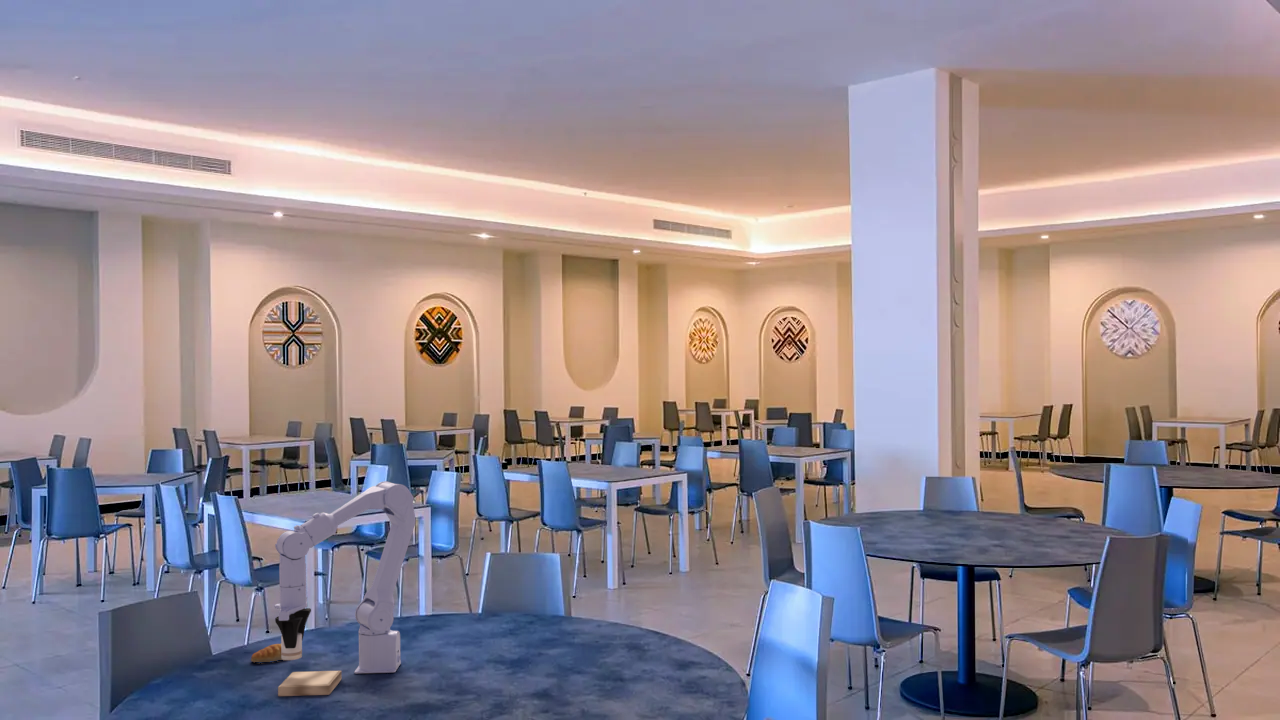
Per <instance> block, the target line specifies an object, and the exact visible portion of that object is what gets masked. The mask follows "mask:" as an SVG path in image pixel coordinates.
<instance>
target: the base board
mask: <svg viewBox="0 0 1280 720" xmlns="http://www.w3.org/2000/svg"><path fill="white" fill-rule="evenodd" d="M342 672H343V671H342V670H321V671H320V670H318V671H317V670H316V671H315V670H313V671H292V672H291V673H290V674H289V676H287V677H286V678H285V679H284V680H283V681H282V682H281V684H280V685H279V686H277V697H293V696H296V697H297V696H327V695H328V696H329V695H331V693H332V692H333V691H334V689H335V688H336V687H337V686H338V684H339V683H340V682H341V681H342V677H343V676H342Z"/></svg>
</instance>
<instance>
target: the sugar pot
mask: <svg viewBox="0 0 1280 720" xmlns="http://www.w3.org/2000/svg"><path fill="white" fill-rule="evenodd" d="M280 641H281V642H280V644H281V659H283V661H294V660H300V659H301V658H302V657H303V640H302V634H301V633H298V635H297V644H296V647H295V648H285V645H284V641H283V637H282V635H281V640H280Z"/></svg>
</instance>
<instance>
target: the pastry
mask: <svg viewBox="0 0 1280 720" xmlns="http://www.w3.org/2000/svg"><path fill="white" fill-rule="evenodd" d="M277 660H283V659H281V643H275V644H271V645H270V644H269V645H268V646H266V647H264V648H262V649H259V650H258V651H255V652H254V653H252V655H251V658H250V662H251V663H252V662H253V663H255V662H270V661H277ZM283 661H284V660H283ZM277 662H278V661H277Z"/></svg>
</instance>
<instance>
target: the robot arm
mask: <svg viewBox="0 0 1280 720" xmlns="http://www.w3.org/2000/svg"><path fill="white" fill-rule="evenodd" d="M414 499H415V498H414V496H413V494H412V492H411V491H410V490H409V488H408V487H407V486H406V485H404V484H401V483H393V482H390V481H388V480H385V481H379V482H378V483H377V484H376V485H373V486H370V487H368V488H367V489H366V490H364V491H362V493H359V494H358V495H357V496H355V497H354V498H352V499H351V500H349V501H348V502H346V503H344V504H343V505H342V506H340V507H339V508H337V509H335V510H333V511H332V512H331V513H327V512H320V513H319V512H316V513H314V514H312V515H311V518H310V519H309V520H307V521H305V522H304V523H302V524H300V525H298V524H296V525H295V526H293V530H287V531H285V532H283V533H281V534H280V535H279V537H278V538H277V541H276V543H275V545H274V546H275V549H276V552H277V553H279V565H278V566H279V570H278V571H279V573H278V575H279V576H278V577H279V603H276V604H274V609H275V610H277V609H278V610H279V611H278V615H277V616H276V617H275V619H274V621H275V624H276V625H277V626H278V629H279V631H280V632H281V633H280V634H281V636H282V637H283V641H284V645H285V648H295V647H296V644H297V635H298V633H301V634H302V641H303V640H304V636H305V629H306V625H307V622H308V618H309V617H310V614H311V612H312V608H309V607H308V597H307V564H306V555H307V554H308V553H309V550H310V549H311V548H314V547H315V546H317V545H319V544H320V543H322V542H324V541H325V540H327V539H328V538H330V537H331V536H333V535H335V534H336V533H337V529H338V527H339V526H340V525H341V524H344V523H345V522H347V521H350V520H351V519H353V518H355V517H357V516H358V515H361V514H362V513H363V512H366V511H367V510H381V511H383V512H385V514H386V516H387V518H388V520H389V521H390V524H391V525H390V528H389V531H388V535H387V537H386V541H385V545H384V547H383V550H382V552H381V553H382V554H381V556H380V559H379V563H378V565H377V568H376V571H375V572H376V573H375V574H374V578H373V581H372V584H371V586H370V588H369V589H368V590H367V591H366V592H365V594H364V597H363V599H362V600H361V601H360V603H359V604H358V605H357V607H356V609H355V612H354V616H355V620H356V622H357V623H358V624H359V629H358V666H357V668H355V670H354V674H386V673H387V674H388V673H389V674H390V673H396V671H397V670H398V668H399V666H400V665H401V664H402V661H401V633H400V631H399V630H392V629H391V627H392V626H393V623H394V608H395V598H394V592H395V588H396V585H397V582H398V579H399V576H400V572H401V568H402V566H403V563H404V560H405V556H406V554H407V550H408V547H409V545H410V542H411V538H412V534H413V532H414V528H415V527H416V521H417V520H416V514H415V509H414V503H413V502H414Z"/></svg>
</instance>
